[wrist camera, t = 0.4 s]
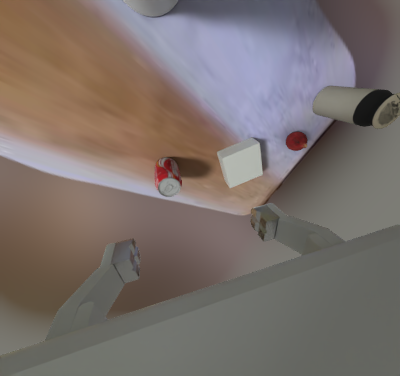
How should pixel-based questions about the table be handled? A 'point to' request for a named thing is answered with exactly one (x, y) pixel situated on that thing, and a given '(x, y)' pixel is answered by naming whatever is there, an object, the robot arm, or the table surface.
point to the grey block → (241, 162)
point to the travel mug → (358, 105)
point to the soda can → (167, 177)
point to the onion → (296, 141)
